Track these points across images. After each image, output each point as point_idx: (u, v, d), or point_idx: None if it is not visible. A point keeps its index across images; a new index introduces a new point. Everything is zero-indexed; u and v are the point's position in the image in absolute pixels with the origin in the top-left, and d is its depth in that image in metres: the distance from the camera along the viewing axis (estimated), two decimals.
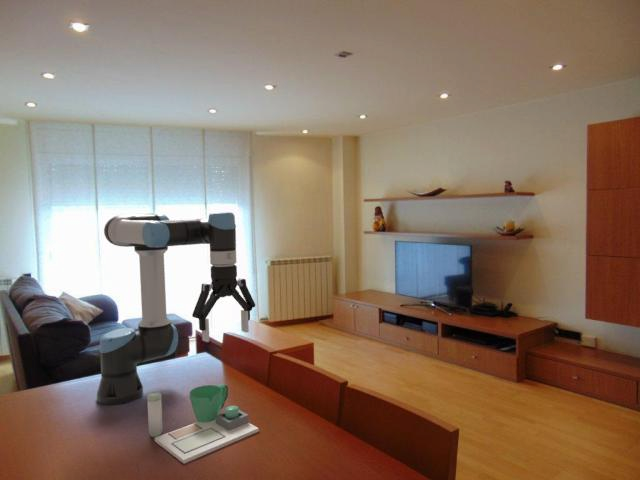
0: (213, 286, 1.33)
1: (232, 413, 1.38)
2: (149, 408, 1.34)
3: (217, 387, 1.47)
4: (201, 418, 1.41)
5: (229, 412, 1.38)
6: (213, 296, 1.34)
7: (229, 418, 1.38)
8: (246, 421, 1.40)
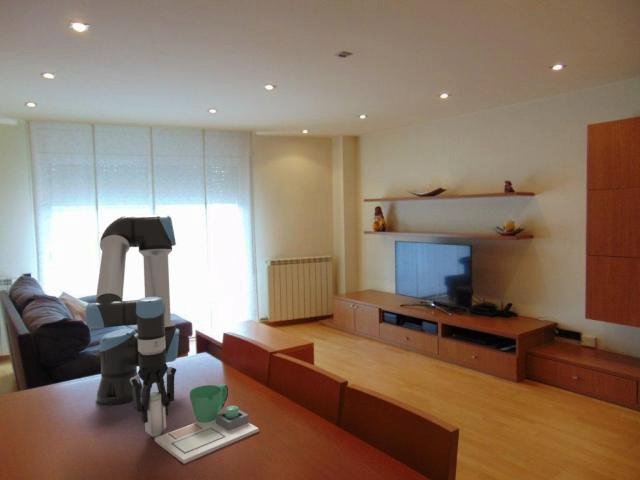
0: (140, 376, 1.32)
1: (232, 413, 1.38)
2: (149, 408, 1.34)
3: (217, 387, 1.48)
4: (201, 418, 1.41)
5: (229, 412, 1.38)
6: (145, 386, 1.33)
7: (229, 418, 1.38)
8: (246, 421, 1.40)
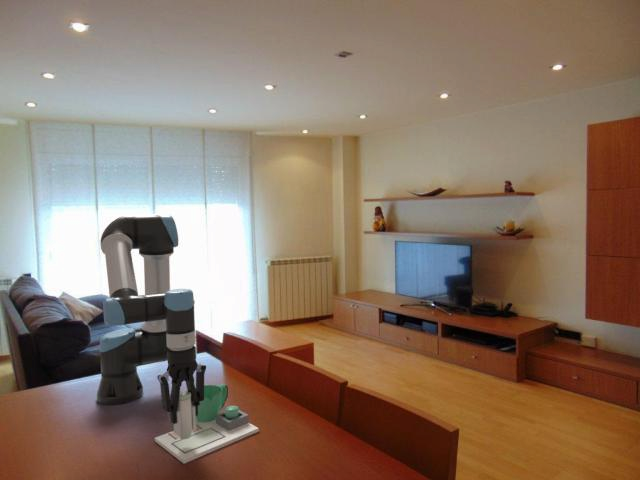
0: (169, 373, 1.23)
1: (232, 413, 1.38)
2: (178, 408, 1.25)
3: (217, 387, 1.48)
4: (201, 418, 1.41)
5: (229, 412, 1.38)
6: (174, 385, 1.24)
7: (229, 418, 1.38)
8: (246, 421, 1.40)
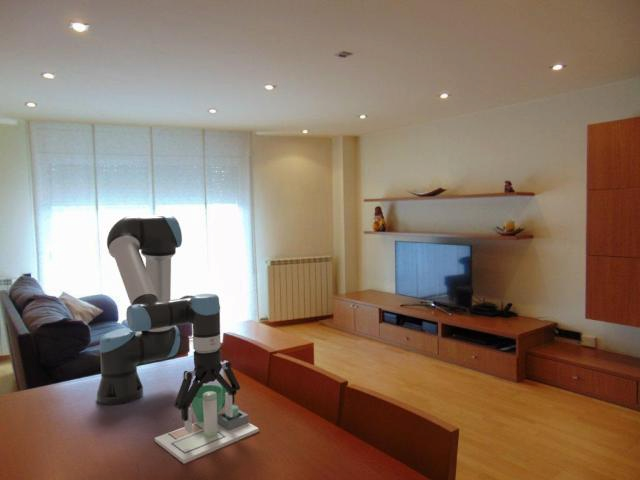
0: (196, 373, 1.28)
1: None
2: (205, 408, 1.31)
3: (217, 387, 1.48)
4: (201, 418, 1.41)
5: None
6: (196, 383, 1.29)
7: (229, 418, 1.38)
8: (246, 421, 1.40)
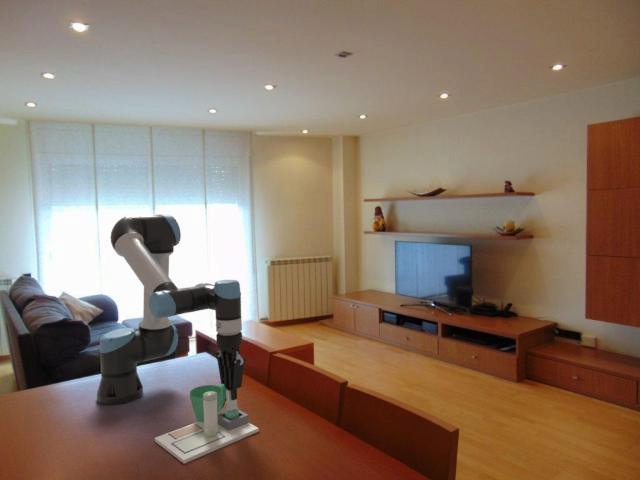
0: None
1: (232, 414, 1.38)
2: (205, 407, 1.31)
3: (217, 387, 1.48)
4: (201, 418, 1.41)
5: (229, 413, 1.38)
6: None
7: (229, 419, 1.38)
8: (246, 421, 1.40)
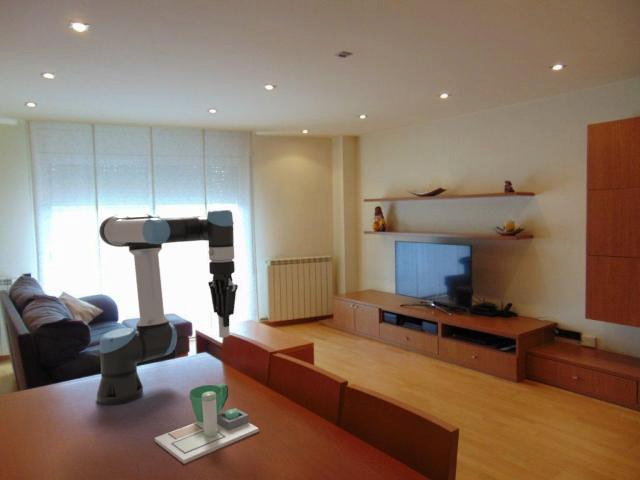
0: None
1: (232, 417, 1.38)
2: (204, 408, 1.31)
3: (217, 387, 1.48)
4: (201, 418, 1.41)
5: (229, 415, 1.38)
6: None
7: None
8: (246, 421, 1.40)
